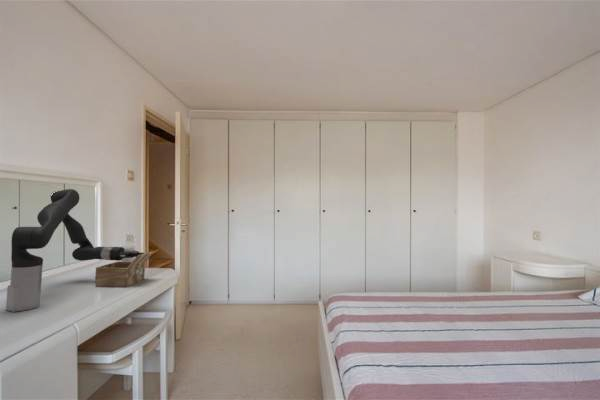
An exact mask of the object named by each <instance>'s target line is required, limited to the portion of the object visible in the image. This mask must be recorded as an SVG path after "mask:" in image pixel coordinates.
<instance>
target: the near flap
mask: <svg viewBox="0 0 600 400" xmlns="http://www.w3.org/2000/svg"><path fill="white" fill-rule="evenodd" d="M154 252H155V251H154V250H153V251H149V252H144V253H145V254H141V255H137V256H136V257H134V260H133V261H132V262H131V264H130V265H129V266H128V267H131V266H134V265H137V264H141V263H144V262H145V263H146V262H147V261H148V260H149V258H151V256H152V255H153V254H154Z"/></svg>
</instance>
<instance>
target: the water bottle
mask: <svg viewBox="0 0 600 400" xmlns="http://www.w3.org/2000/svg"><path fill="white" fill-rule="evenodd" d="M132 236H133V235H132V234H126V235H125V242H124V243H123V244H122V246H121V247H123V248H124V249H125V251H126V250H130V251H134V250H135V249H136V246H135V244H134V242H133V237H132ZM135 251H136V250H135ZM134 259H135V257H133V258H123V259H122V260H121V262H132V261H133V260H134Z"/></svg>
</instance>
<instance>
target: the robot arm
mask: <svg viewBox="0 0 600 400" xmlns="http://www.w3.org/2000/svg"><path fill="white" fill-rule="evenodd" d="M54 192H55V193H53V192H52V193H53V195H52V196H51V195H50V201H51V203H49V204H47V205H46V206H44V207H43V208H42V209H41V210H40V211H39V212H38V214H37V216H36V217H37V218H36V219H37V222H38V224H39V225H40V226H17V227H16V228H14V229H13V231H12V235H11V254H10V255H11V258H10V259H11V271H10V285H8V286H7V288H6V289H7V290H6V291H7V292H6V304H5V310H6V311H9V312H10V313H11V312H12V313H15V312H23V311H28V310H33V309H36V308H39V307H40V305H41V294H42V293H41V292H42V278H43V266H44V265H43V264H44V258H43V257H41V256H39V255H34V254H32V253H30V252H29V251H28V250H34V249H35V250H39V249H43V248H45V247H46V246H47V245H48V243H50V241H51V239H52V237H53V234H54V233H55V231H56V229H57V228H58V227H59V226H60V225H61V223H62V224H63V225H64V227H65V229H66V231H67V235H68V237H69V240H70V242H71V243H72V244H74V245H78V246H79V247H77V248H75V249H74V250H73V251H72V253H71V256H72V258H73V259H74V260H76V261H80V262H81V261H90V260H91V261H92V260H104V261H105V260H106V261H116V262H119V261H120V262H121V261H122V259H123V258H133V257H134V258H136V256H137V255H141V254H145V253H146V252H139V251H138V250H134V251H130V250H126V251H125V249H124V248H123V247H122V246H95V247H94V245H93V244H92V242H91V241H90V240H89V238H88V237H87V235H86V232H85V229H84V226H83V225H82V223H80V222H79V221H77V220H76V219H75V218H73V217H72V216H71V215H70V214H69V212H71V210H73V208H75V207H76V206H77V205H78V204H79V202H80V194H79V192H78V191H77V190H76V189H73V188H68V189H62V190H57V192H56V191H54Z"/></svg>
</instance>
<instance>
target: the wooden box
mask: <svg viewBox="0 0 600 400" xmlns="http://www.w3.org/2000/svg"><path fill="white" fill-rule="evenodd" d="M130 264H131V262H122V261H121V260H120V261H114V262H112V263H108V264H104V265H100V266H96V267H95V276H94V277H95V278H94V279H95V280H94V282H95V287H97V288H98V287H101V288H104V287H105V288H128V287H129V286H132V285H134V284H136V283H139V282H142V281H144V280H145V272H146V262H144V263H141V264H137V265H134V266H131V267H128V266H129V265H130Z"/></svg>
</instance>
